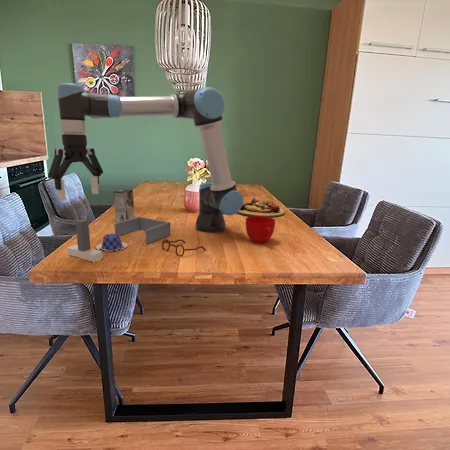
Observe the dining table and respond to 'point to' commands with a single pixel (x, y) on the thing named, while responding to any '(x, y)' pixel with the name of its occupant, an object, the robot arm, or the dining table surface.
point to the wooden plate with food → (261, 208)
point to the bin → (144, 228)
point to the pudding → (111, 242)
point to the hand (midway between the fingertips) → (79, 196)
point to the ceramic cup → (260, 228)
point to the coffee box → (123, 205)
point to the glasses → (177, 246)
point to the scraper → (84, 243)
